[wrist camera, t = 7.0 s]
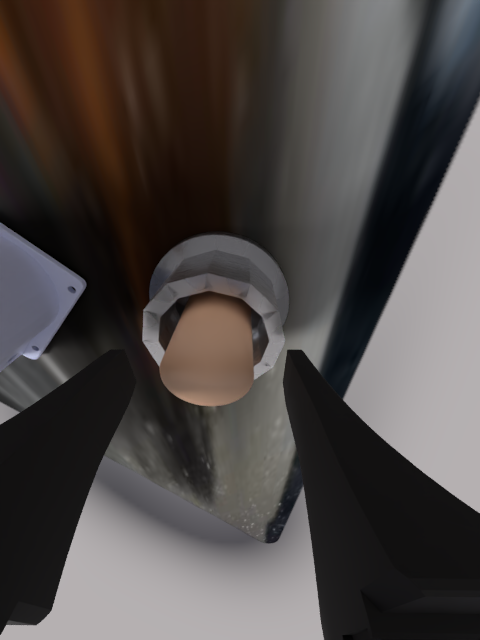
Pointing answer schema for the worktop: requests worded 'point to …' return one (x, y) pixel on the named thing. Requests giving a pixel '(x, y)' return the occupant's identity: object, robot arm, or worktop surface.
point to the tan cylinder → (210, 351)
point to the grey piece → (219, 290)
